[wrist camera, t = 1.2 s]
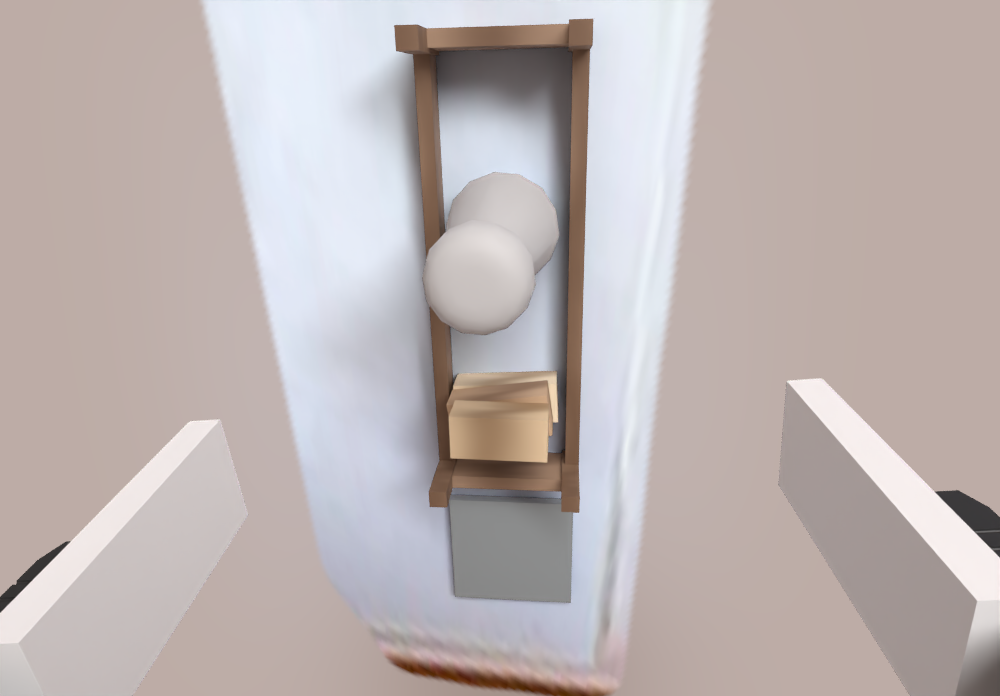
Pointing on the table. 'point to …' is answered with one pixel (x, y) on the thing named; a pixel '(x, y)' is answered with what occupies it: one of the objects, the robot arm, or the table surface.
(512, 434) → the offcut
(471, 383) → the offcut
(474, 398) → the offcut
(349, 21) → the table surface
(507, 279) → the salt shaker
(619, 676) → the table surface
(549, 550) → the coaster
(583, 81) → the open rectangular wooden frame
